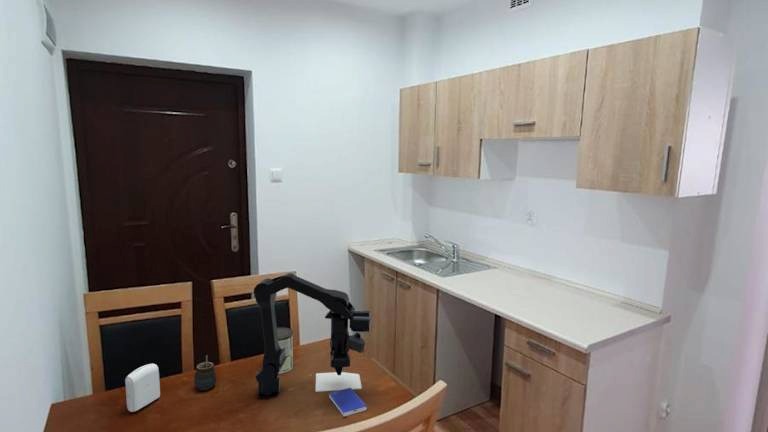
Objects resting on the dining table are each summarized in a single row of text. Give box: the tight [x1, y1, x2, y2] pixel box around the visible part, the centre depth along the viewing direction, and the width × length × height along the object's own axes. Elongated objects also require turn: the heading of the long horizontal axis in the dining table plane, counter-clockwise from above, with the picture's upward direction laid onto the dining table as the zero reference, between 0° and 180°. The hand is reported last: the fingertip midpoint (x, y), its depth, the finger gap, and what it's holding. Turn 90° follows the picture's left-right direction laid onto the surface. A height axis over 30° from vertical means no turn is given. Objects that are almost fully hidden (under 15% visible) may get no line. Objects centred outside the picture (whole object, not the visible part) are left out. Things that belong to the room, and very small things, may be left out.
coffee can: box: [277, 327, 294, 374], centre depth 160 cm, size 10×10×14 cm
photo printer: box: [124, 363, 161, 413], centre depth 135 cm, size 10×4×12 cm, turn 158°
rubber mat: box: [315, 371, 363, 393], centre depth 151 cm, size 16×12×1 cm
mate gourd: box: [193, 354, 217, 391], centre depth 146 cm, size 7×8×10 cm
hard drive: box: [328, 388, 368, 417], centre depth 137 cm, size 2×8×12 cm
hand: (339, 374), depth 141 cm, fingers closed
